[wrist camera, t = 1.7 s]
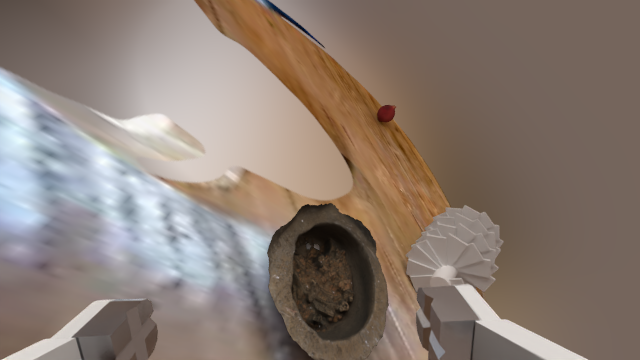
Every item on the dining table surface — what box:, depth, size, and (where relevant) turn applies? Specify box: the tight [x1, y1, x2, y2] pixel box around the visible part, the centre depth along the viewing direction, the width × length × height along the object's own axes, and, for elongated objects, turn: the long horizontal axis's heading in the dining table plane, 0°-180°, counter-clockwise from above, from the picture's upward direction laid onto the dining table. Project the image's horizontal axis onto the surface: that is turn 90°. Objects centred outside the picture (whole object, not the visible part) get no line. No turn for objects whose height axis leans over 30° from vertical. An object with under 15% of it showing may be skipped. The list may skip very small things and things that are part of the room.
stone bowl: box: [267, 203, 389, 360], centre depth 50 cm, size 25×25×9 cm
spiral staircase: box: [406, 205, 504, 293], centre depth 72 cm, size 18×18×25 cm
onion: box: [377, 105, 396, 122], centre depth 107 cm, size 6×6×8 cm
